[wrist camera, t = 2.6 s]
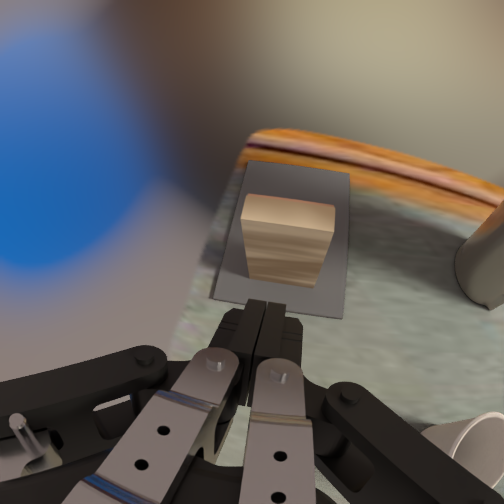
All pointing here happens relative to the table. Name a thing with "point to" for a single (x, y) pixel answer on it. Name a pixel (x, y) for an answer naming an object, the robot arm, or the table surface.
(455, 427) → the dixie cup
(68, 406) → the robot arm
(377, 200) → the table surface
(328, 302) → the rubber mat
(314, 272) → the maple block
